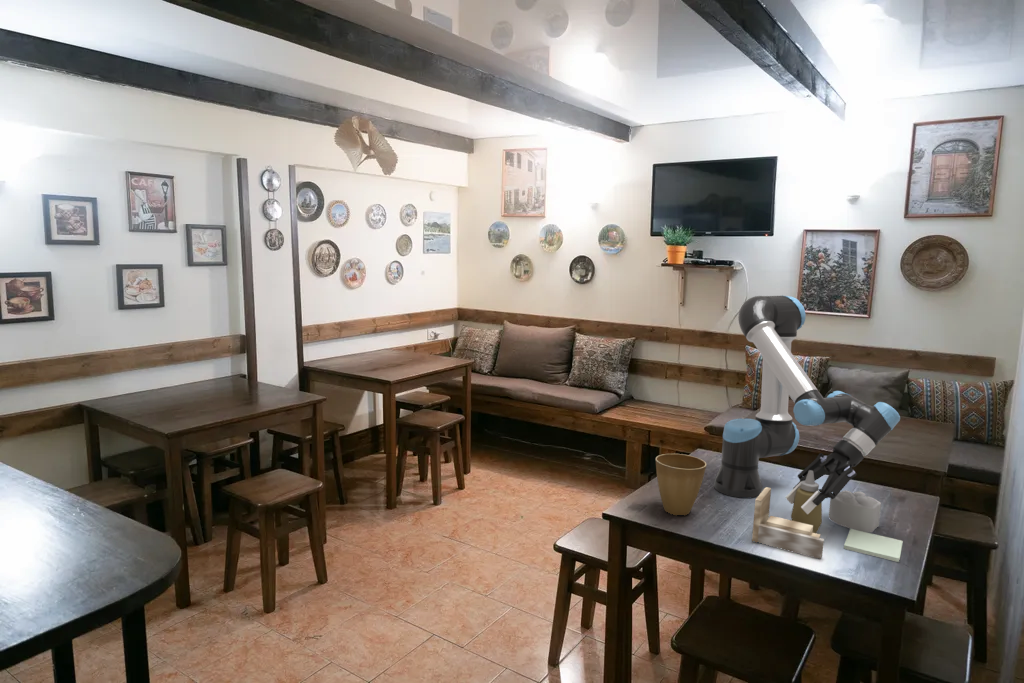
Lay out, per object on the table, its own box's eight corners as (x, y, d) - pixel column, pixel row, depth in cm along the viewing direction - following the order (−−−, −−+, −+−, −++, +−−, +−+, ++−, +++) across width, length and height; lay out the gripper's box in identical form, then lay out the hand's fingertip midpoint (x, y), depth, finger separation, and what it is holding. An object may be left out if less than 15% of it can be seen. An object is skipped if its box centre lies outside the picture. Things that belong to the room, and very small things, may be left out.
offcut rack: (751, 541, 181) (755, 499, 179) (762, 526, 191) (765, 487, 189) (821, 559, 171) (825, 515, 169) (828, 542, 181) (832, 501, 179)
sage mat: (843, 548, 178) (844, 545, 177) (850, 532, 188) (850, 528, 188) (899, 562, 171) (899, 558, 170) (902, 544, 181) (902, 540, 181)
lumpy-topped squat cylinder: (869, 534, 187) (872, 505, 186) (822, 520, 197) (825, 492, 195) (881, 524, 195) (884, 496, 193) (835, 511, 204) (838, 484, 202)
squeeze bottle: (814, 526, 191) (820, 467, 188) (825, 538, 183) (831, 476, 180) (786, 524, 192) (791, 465, 189) (795, 536, 184) (800, 475, 181)
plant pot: (694, 525, 190) (698, 472, 188) (645, 513, 198) (648, 462, 196) (708, 508, 203) (712, 458, 201) (662, 498, 211) (665, 450, 208)
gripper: (885, 468, 178) (826, 528, 177) (837, 446, 196) (783, 500, 196) (870, 450, 176) (810, 511, 175) (823, 429, 195) (768, 484, 194)
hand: (796, 505), depth 185 cm, fingers closed on squeeze bottle, 6 cm apart
